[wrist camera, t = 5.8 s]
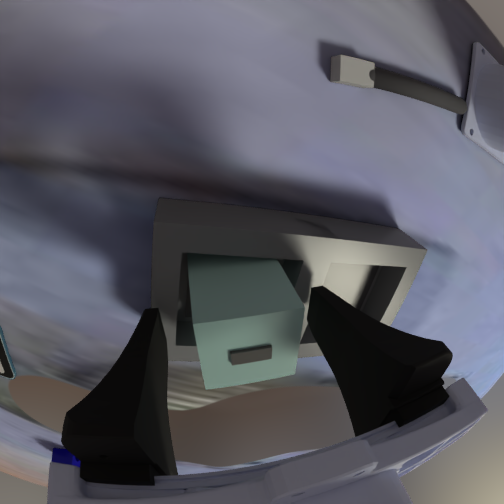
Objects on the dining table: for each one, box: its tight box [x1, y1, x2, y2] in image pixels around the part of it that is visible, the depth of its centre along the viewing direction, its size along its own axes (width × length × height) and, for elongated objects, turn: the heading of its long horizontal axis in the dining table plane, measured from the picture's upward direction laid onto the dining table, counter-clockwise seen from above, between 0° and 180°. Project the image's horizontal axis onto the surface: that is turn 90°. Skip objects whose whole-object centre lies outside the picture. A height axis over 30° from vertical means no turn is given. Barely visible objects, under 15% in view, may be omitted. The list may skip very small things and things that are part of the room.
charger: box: [187, 253, 305, 390], centre depth 13 cm, size 4×4×5 cm
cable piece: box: [330, 55, 467, 114], centre depth 13 cm, size 11×1×1 cm, turn 88°
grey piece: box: [151, 198, 427, 361], centre depth 16 cm, size 15×8×3 cm, turn 78°
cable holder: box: [52, 448, 80, 468], centre depth 24 cm, size 8×4×4 cm, turn 6°
